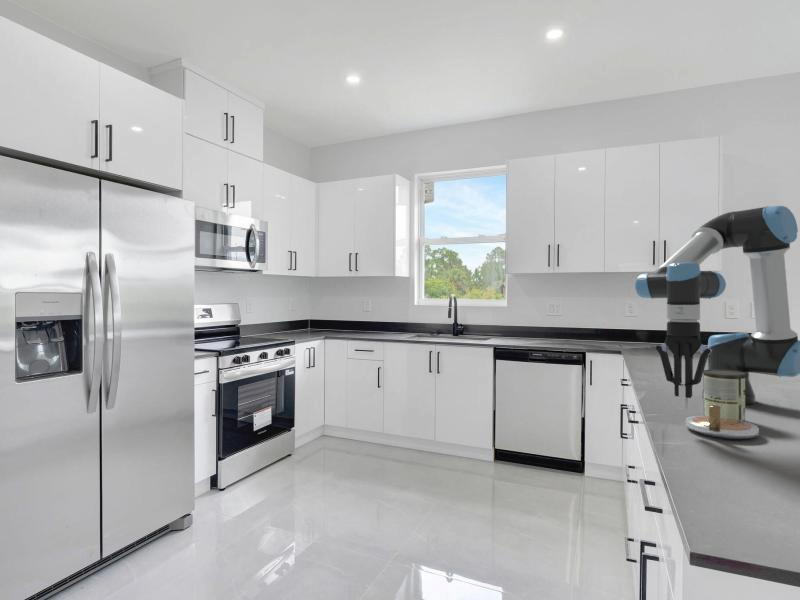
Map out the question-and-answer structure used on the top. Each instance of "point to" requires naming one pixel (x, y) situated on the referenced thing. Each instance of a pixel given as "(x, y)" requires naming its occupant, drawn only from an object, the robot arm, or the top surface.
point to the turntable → (721, 425)
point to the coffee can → (725, 392)
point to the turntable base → (724, 437)
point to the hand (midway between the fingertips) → (683, 409)
